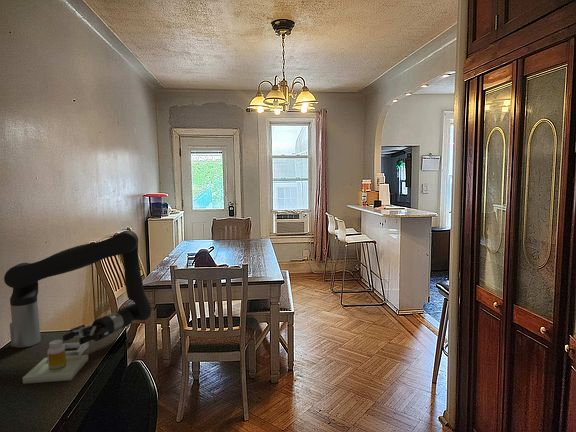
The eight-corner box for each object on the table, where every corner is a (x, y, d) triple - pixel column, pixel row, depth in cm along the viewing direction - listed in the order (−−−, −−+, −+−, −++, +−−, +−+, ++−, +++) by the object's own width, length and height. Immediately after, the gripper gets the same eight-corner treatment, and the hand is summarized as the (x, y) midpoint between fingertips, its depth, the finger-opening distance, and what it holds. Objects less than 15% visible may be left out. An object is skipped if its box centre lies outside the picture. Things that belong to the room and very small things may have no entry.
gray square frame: (52, 358, 148) (51, 353, 148) (63, 347, 157) (63, 343, 157) (79, 356, 149) (78, 351, 149) (88, 346, 158) (88, 341, 158)
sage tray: (22, 383, 129) (22, 377, 129) (45, 362, 144) (45, 357, 144) (71, 380, 131) (70, 374, 131) (88, 359, 146) (88, 354, 146)
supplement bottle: (68, 368, 138) (66, 341, 137) (51, 373, 134) (49, 346, 133) (63, 363, 141) (61, 337, 141) (46, 368, 137) (44, 342, 137)
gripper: (94, 313, 160) (57, 327, 145) (120, 317, 154) (84, 332, 139) (96, 331, 160) (59, 347, 146) (122, 336, 155) (86, 353, 140)
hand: (71, 340), depth 142 cm, fingers open, 8 cm apart
